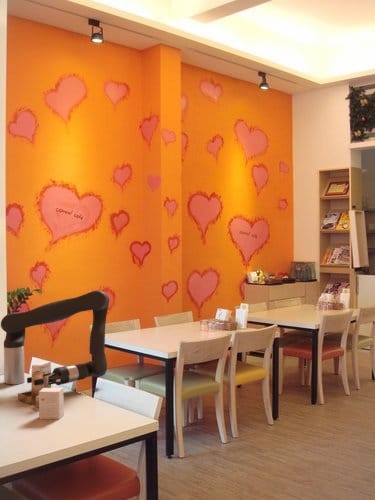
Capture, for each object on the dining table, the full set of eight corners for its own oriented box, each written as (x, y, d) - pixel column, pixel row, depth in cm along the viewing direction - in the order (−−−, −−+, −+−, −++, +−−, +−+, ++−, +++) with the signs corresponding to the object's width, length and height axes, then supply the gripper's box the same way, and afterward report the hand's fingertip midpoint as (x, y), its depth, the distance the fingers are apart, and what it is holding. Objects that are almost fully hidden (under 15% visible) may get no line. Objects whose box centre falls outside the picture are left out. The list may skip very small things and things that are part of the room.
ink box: (42, 386, 261) (42, 360, 261) (51, 386, 260) (51, 361, 260) (31, 390, 253) (31, 364, 253) (40, 391, 252) (40, 365, 252)
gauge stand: (35, 406, 229) (35, 376, 229) (49, 403, 233) (48, 374, 233) (43, 409, 225) (43, 379, 225) (56, 406, 229) (56, 376, 229)
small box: (64, 414, 217) (63, 387, 217) (59, 419, 212) (59, 391, 211) (44, 414, 218) (43, 387, 218) (38, 419, 212) (38, 391, 212)
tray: (17, 399, 239) (17, 393, 239) (41, 394, 247) (41, 388, 247) (31, 404, 231) (31, 398, 231) (55, 399, 239) (55, 393, 239)
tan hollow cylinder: (29, 397, 239) (29, 371, 240) (39, 395, 243) (39, 370, 243) (34, 399, 236) (35, 372, 236) (44, 397, 239) (45, 371, 240)
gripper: (56, 363, 254) (22, 370, 242) (74, 368, 244) (39, 375, 232) (57, 380, 254) (22, 387, 242) (74, 386, 244) (39, 393, 232)
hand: (31, 381), depth 237 cm, fingers open, 5 cm apart
